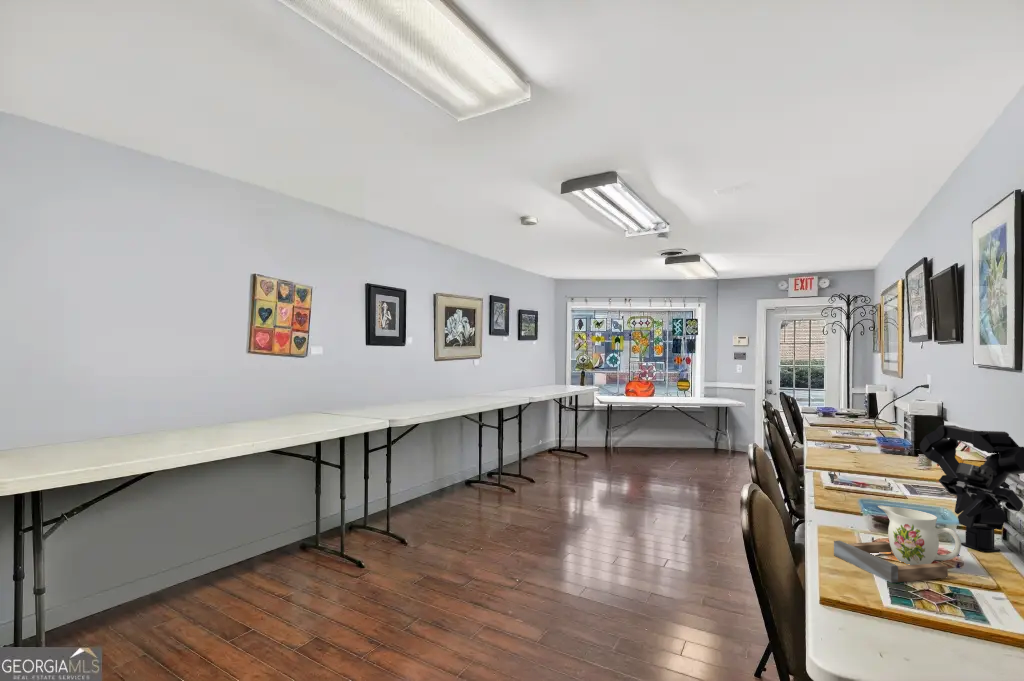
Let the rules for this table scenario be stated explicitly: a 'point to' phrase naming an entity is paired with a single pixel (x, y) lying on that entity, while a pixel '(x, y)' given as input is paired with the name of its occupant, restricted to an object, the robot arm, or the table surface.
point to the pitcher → (916, 536)
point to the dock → (886, 562)
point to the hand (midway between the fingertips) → (961, 514)
